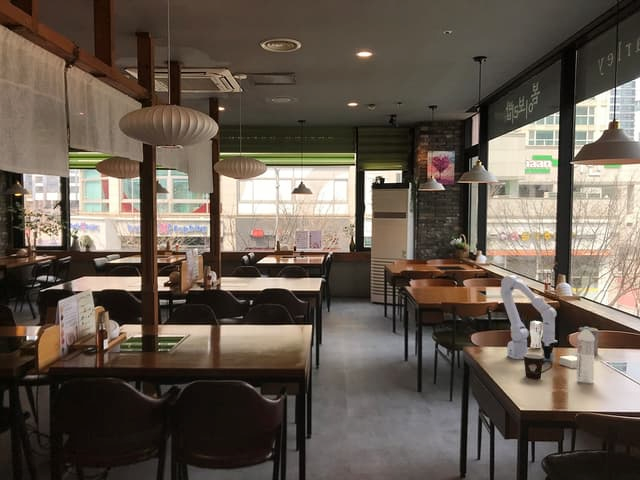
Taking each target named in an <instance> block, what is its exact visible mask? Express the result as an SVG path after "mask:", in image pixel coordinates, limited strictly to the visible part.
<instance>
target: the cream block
mask: <svg viewBox="0 0 640 480" xmlns="http://www.w3.org/2000/svg"><path fill="white" fill-rule="evenodd" d="M558 359H559V363H558V364H559V365H562V366H563V367H564V366H565V367H567V368H570V369H577V356H575V355H563V356H559V357H558Z"/></svg>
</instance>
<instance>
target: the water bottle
mask: <svg viewBox="0 0 640 480" xmlns="http://www.w3.org/2000/svg"><path fill="white" fill-rule="evenodd" d="M589 328H590V326H589V327H588V326H584V330H583V331H582V332H580V333H579V332H578V335H577V352H576V353H577V355H576V357H577V368H576V382H578V383H580V384H585V385H591V384H594V378H595V377H594V376H595V374H594V373H595V355H594V340H595V337H594V335H593V334H592V333H591V332H590V331H588V329H589Z"/></svg>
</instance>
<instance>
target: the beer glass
mask: <svg viewBox="0 0 640 480" xmlns="http://www.w3.org/2000/svg"><path fill="white" fill-rule="evenodd" d="M529 323H530V324H529V336H530V341H531V342H530V348H531V349H535V348H541V349H542V347H541V345H542V339H543V321H539V320H537V321H536V320H532V321H530V322H529Z"/></svg>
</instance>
